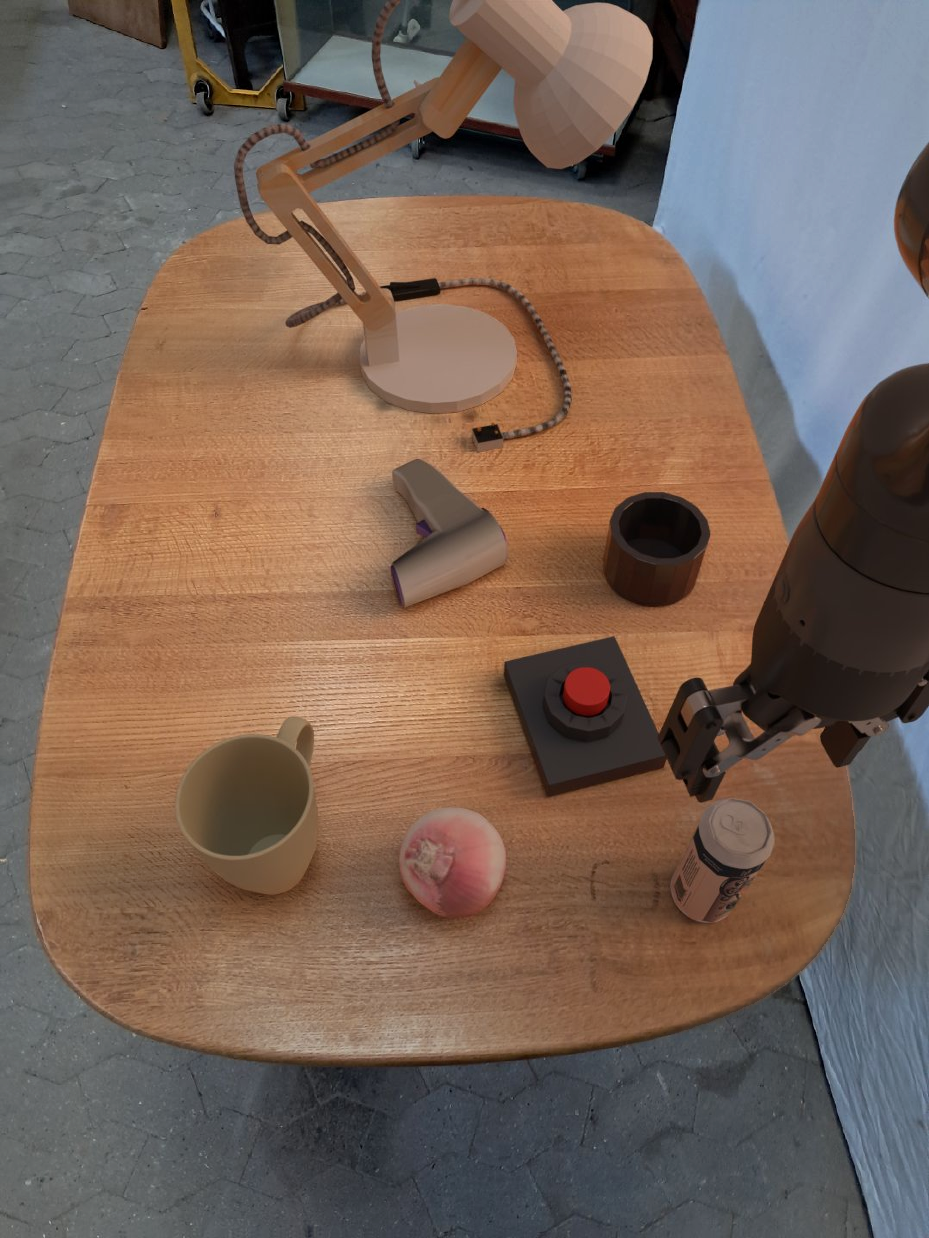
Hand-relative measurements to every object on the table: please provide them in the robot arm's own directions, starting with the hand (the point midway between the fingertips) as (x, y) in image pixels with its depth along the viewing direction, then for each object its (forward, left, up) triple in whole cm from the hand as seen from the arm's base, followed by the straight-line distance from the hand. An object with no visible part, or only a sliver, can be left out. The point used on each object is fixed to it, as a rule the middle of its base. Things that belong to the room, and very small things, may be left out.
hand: (766, 769), depth 52 cm
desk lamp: (+58, -30, -19) cm, 68 cm away
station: (+16, -5, -19) cm, 25 cm away
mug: (+25, +20, -19) cm, 37 cm away
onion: (+14, +12, -19) cm, 27 cm away
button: (+16, -5, -15) cm, 22 cm away
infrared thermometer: (+40, -9, -19) cm, 45 cm away
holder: (+22, -22, -19) cm, 36 cm away
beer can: (0, 0, -19) cm, 19 cm away
